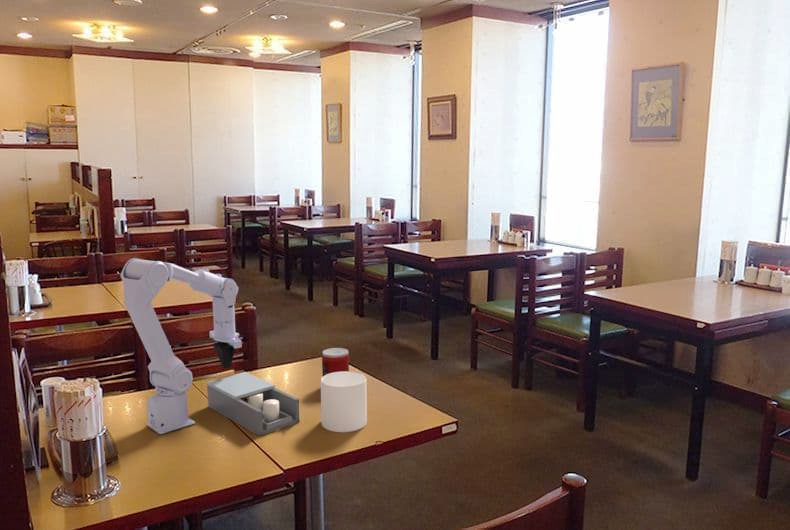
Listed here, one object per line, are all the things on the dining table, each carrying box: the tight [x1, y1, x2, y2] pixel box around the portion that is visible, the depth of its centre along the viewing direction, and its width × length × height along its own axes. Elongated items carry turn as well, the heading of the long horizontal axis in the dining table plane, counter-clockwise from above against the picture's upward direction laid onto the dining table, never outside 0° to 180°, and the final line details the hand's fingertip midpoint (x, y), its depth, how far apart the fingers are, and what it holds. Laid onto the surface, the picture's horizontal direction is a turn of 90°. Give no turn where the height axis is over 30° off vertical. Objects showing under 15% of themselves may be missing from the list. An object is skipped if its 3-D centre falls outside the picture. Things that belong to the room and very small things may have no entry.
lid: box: [206, 369, 276, 400], centre depth 172 cm, size 12×16×2 cm
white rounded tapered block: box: [246, 392, 263, 411], centre depth 168 cm, size 4×4×5 cm
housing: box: [206, 384, 300, 436], centre depth 169 cm, size 12×26×6 cm, turn 44°
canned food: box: [321, 347, 350, 377], centre depth 189 cm, size 8×8×11 cm
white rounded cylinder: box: [263, 399, 279, 423], centre depth 162 cm, size 4×4×5 cm
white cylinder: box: [320, 370, 368, 433], centre depth 163 cm, size 12×12×12 cm
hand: (226, 367), depth 177 cm, fingers closed
